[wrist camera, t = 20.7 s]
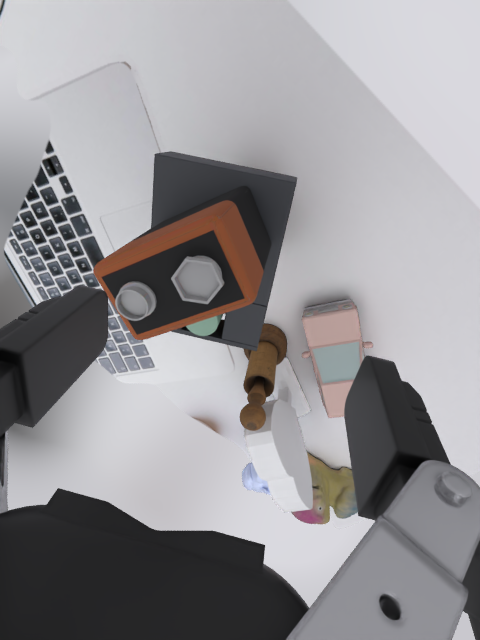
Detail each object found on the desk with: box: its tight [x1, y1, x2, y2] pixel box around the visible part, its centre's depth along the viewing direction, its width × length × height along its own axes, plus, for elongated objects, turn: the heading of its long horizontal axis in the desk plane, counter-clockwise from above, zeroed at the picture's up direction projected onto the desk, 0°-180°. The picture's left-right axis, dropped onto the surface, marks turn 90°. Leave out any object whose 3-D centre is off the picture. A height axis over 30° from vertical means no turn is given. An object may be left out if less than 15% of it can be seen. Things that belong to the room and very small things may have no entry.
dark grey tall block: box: [151, 152, 297, 351], centre depth 35 cm, size 13×9×24 cm
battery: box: [94, 186, 271, 340], centre depth 19 cm, size 4×7×10 cm, turn 114°
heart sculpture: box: [244, 357, 313, 512], centre depth 51 cm, size 16×5×18 cm, turn 24°
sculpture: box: [292, 452, 358, 524], centre depth 62 cm, size 15×8×10 cm, turn 74°
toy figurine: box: [242, 462, 271, 495], centre depth 59 cm, size 7×6×12 cm
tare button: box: [186, 314, 223, 336], centre depth 27 cm, size 3×3×2 cm
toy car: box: [302, 299, 373, 418], centre depth 49 cm, size 9×15×10 cm, turn 17°
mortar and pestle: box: [240, 324, 287, 431], centre depth 47 cm, size 7×6×18 cm
